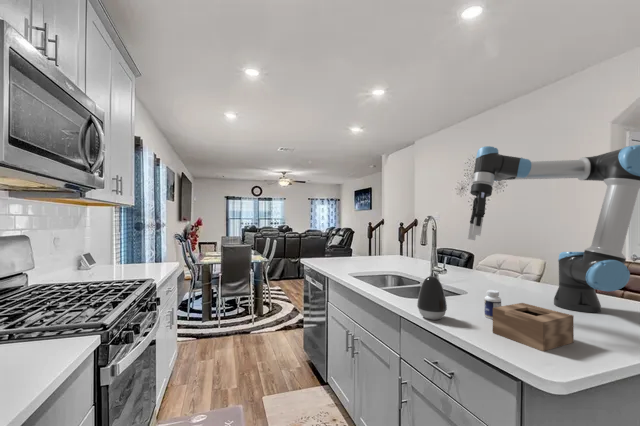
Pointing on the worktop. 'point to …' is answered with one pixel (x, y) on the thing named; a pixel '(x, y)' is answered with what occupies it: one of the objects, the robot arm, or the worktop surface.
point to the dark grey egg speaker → (432, 299)
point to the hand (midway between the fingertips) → (473, 237)
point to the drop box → (533, 326)
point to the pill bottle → (491, 302)
